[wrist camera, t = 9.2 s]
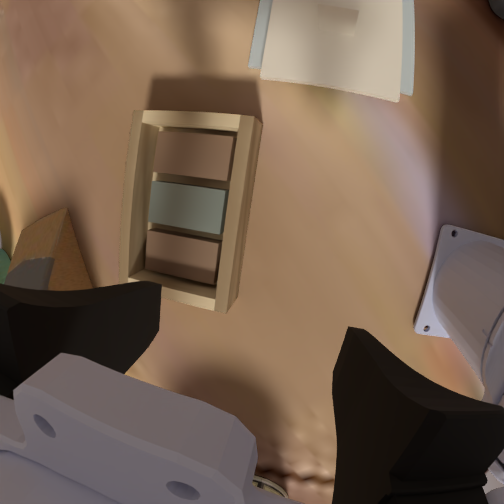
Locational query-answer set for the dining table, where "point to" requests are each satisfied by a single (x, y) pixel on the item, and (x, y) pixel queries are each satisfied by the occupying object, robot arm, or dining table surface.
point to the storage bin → (497, 7)
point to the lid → (336, 45)
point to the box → (188, 203)
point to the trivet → (407, 42)
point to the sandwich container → (48, 256)
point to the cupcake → (4, 265)
